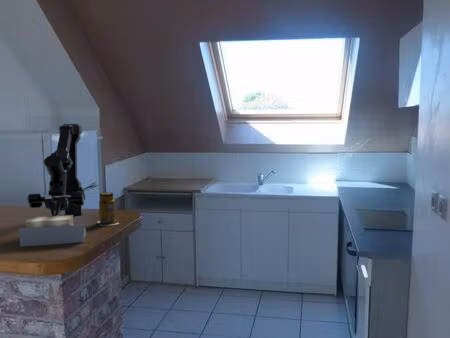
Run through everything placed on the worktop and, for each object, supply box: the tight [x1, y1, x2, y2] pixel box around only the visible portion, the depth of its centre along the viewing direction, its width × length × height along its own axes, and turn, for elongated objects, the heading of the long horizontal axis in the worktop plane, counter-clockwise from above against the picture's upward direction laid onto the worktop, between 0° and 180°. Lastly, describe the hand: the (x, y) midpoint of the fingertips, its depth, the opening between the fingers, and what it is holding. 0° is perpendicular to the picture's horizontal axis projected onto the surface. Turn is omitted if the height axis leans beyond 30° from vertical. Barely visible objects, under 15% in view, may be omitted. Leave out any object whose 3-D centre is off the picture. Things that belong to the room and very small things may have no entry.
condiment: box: [96, 191, 120, 227], centre depth 176 cm, size 7×8×12 cm
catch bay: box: [18, 223, 87, 248], centre depth 154 cm, size 11×20×6 cm, turn 102°
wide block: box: [25, 214, 75, 228], centre depth 153 cm, size 14×7×8 cm, turn 98°
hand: (54, 219), depth 157 cm, fingers closed
